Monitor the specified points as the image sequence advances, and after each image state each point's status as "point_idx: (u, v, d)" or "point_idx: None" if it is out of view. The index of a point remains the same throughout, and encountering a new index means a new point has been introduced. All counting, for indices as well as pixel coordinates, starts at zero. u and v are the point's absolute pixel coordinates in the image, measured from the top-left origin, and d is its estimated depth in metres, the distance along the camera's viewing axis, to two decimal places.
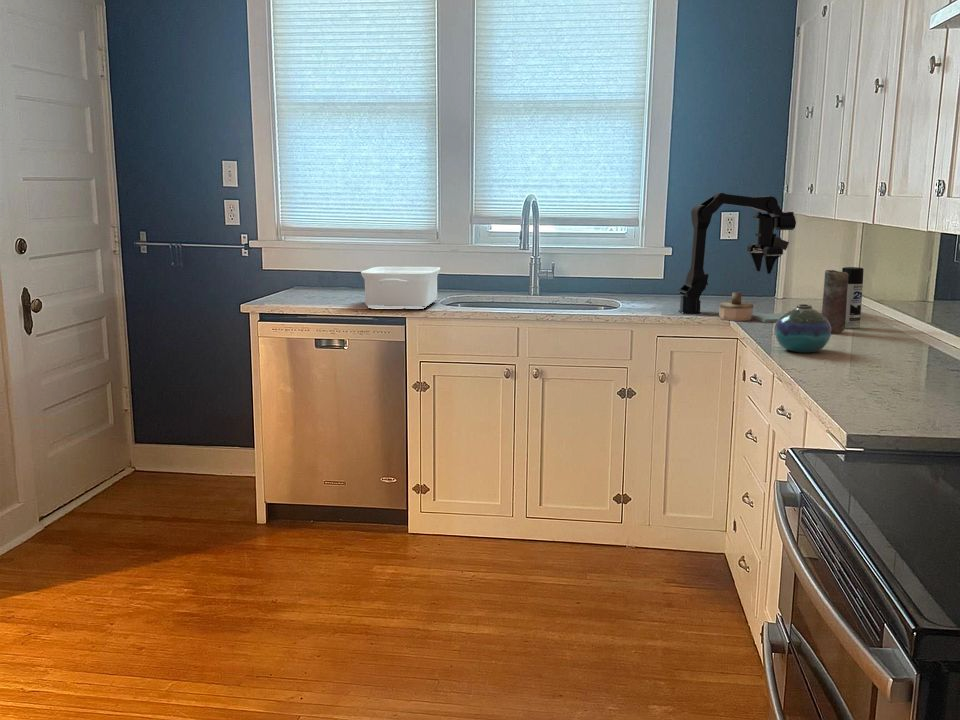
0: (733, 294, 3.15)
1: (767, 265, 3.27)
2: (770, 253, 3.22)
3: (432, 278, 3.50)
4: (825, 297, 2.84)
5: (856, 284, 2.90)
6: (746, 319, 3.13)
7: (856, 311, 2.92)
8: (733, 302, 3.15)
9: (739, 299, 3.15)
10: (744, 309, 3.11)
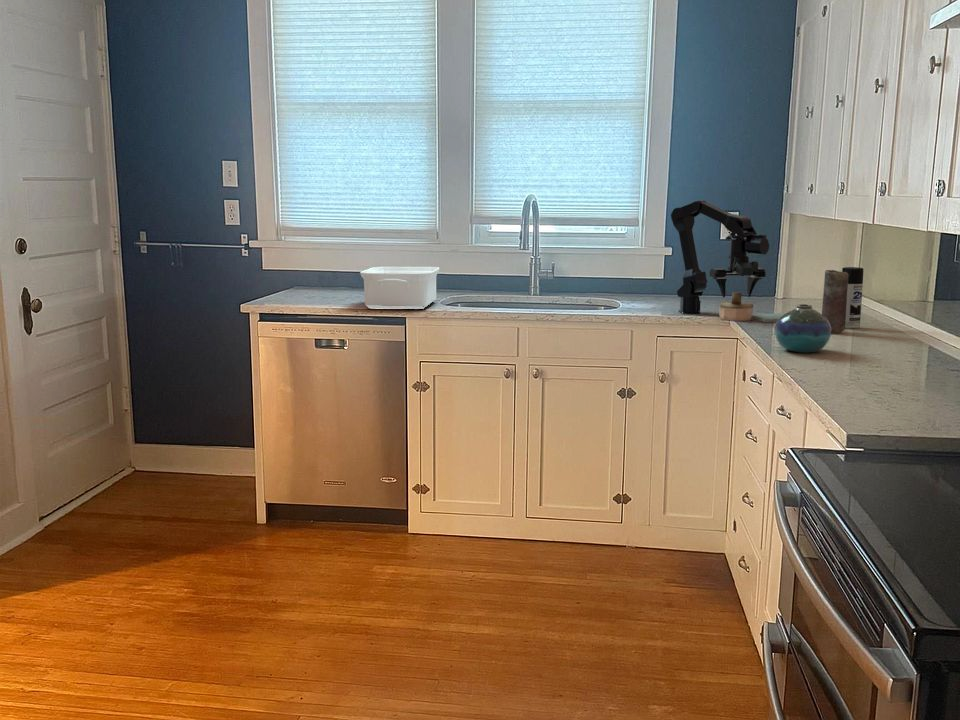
0: (733, 294, 3.15)
1: (720, 288, 3.16)
2: (710, 274, 3.15)
3: (431, 278, 3.50)
4: (825, 297, 2.84)
5: (856, 284, 2.90)
6: (746, 319, 3.13)
7: (856, 311, 2.92)
8: (733, 302, 3.15)
9: (739, 299, 3.15)
10: (744, 309, 3.11)
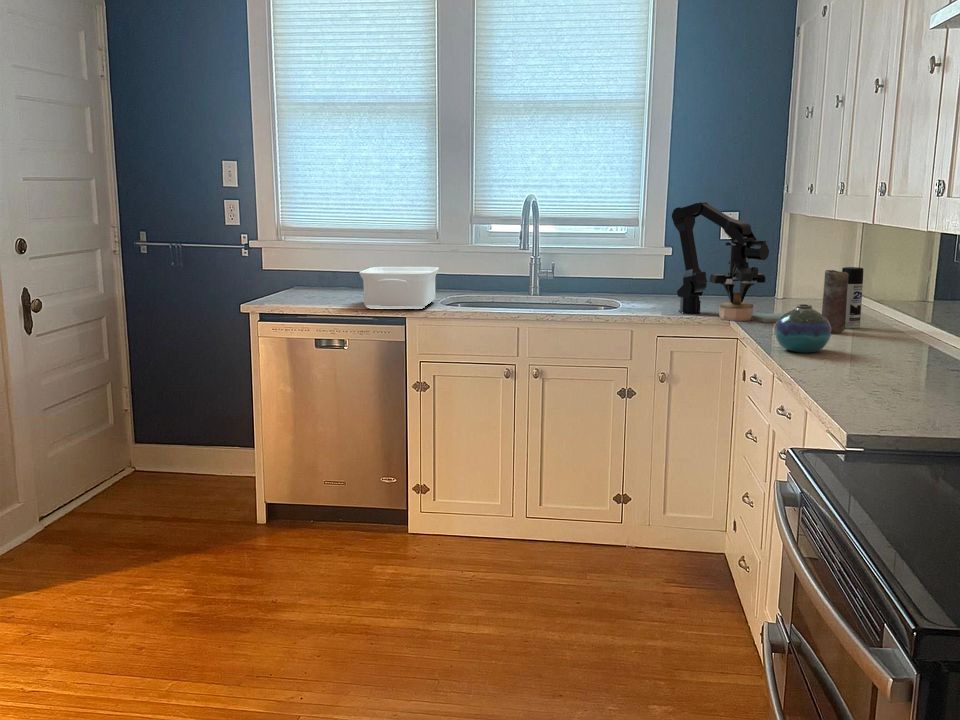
0: (733, 294, 3.15)
1: (727, 293, 3.16)
2: (710, 280, 3.16)
3: (431, 278, 3.50)
4: (825, 297, 2.84)
5: (856, 284, 2.90)
6: (746, 319, 3.13)
7: (856, 311, 2.92)
8: (733, 302, 3.15)
9: (739, 299, 3.15)
10: (744, 309, 3.11)
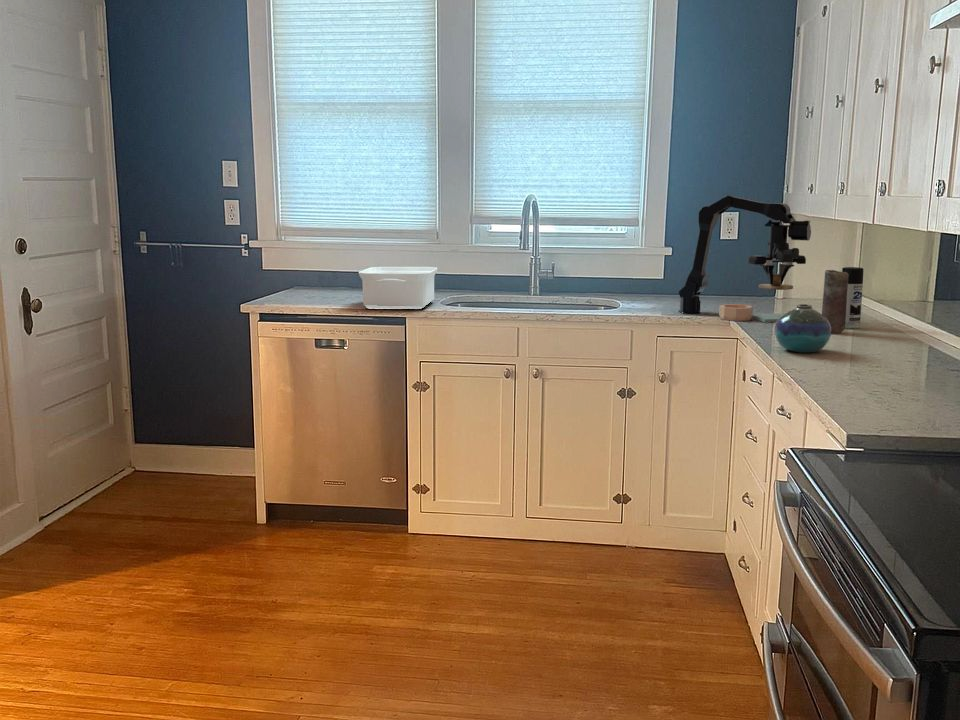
0: (773, 275, 3.12)
1: (767, 275, 3.14)
2: (749, 261, 3.13)
3: (430, 278, 3.50)
4: (825, 297, 2.84)
5: (856, 284, 2.90)
6: (746, 319, 3.13)
7: (856, 311, 2.92)
8: (773, 283, 3.13)
9: (779, 280, 3.12)
10: (744, 309, 3.11)
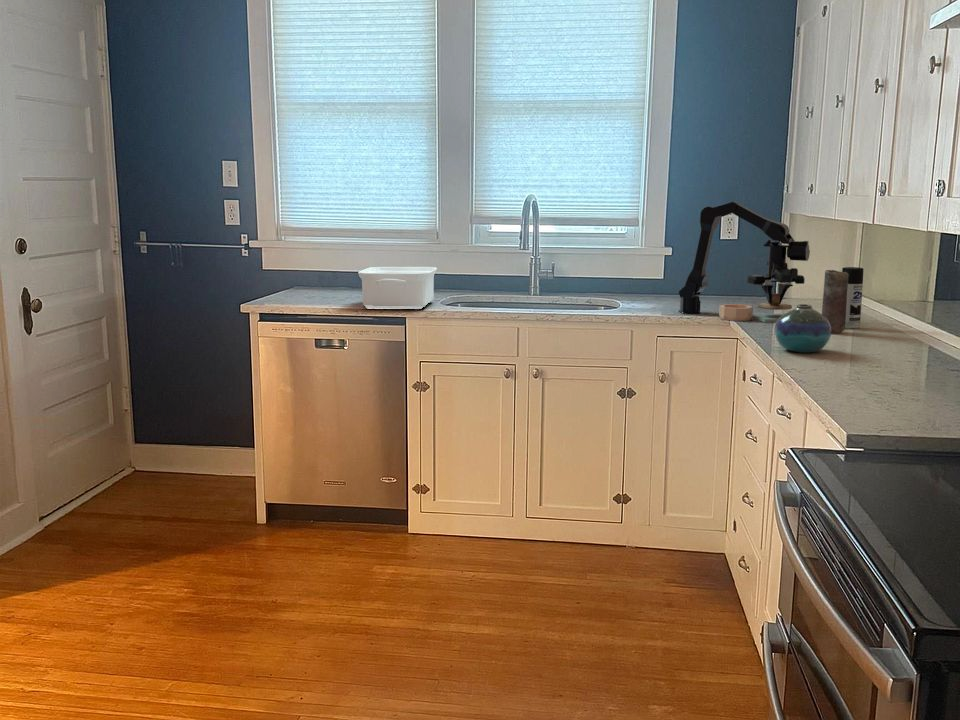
0: None
1: (765, 294, 3.15)
2: (748, 281, 3.14)
3: (429, 278, 3.51)
4: (825, 297, 2.84)
5: (856, 284, 2.90)
6: (746, 319, 3.13)
7: (856, 311, 2.92)
8: (771, 303, 3.14)
9: (778, 300, 3.13)
10: (744, 309, 3.11)
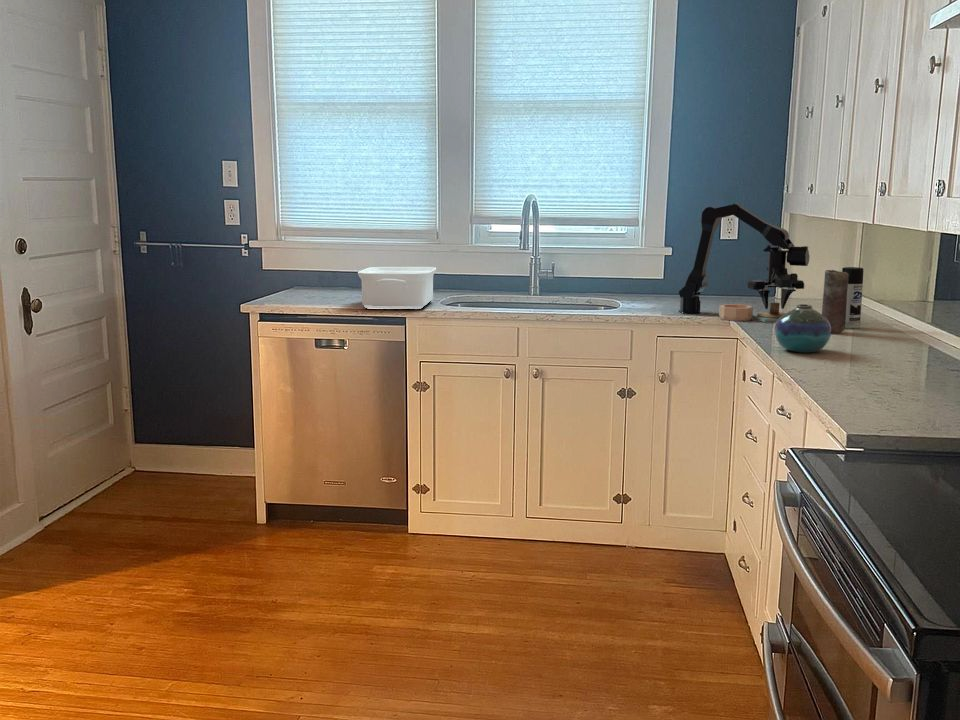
0: (771, 304, 3.14)
1: (762, 299, 3.15)
2: (748, 286, 3.15)
3: (429, 278, 3.51)
4: (825, 297, 2.84)
5: (856, 284, 2.90)
6: (746, 319, 3.13)
7: (856, 311, 2.92)
8: (771, 312, 3.15)
9: (777, 309, 3.14)
10: (744, 309, 3.11)
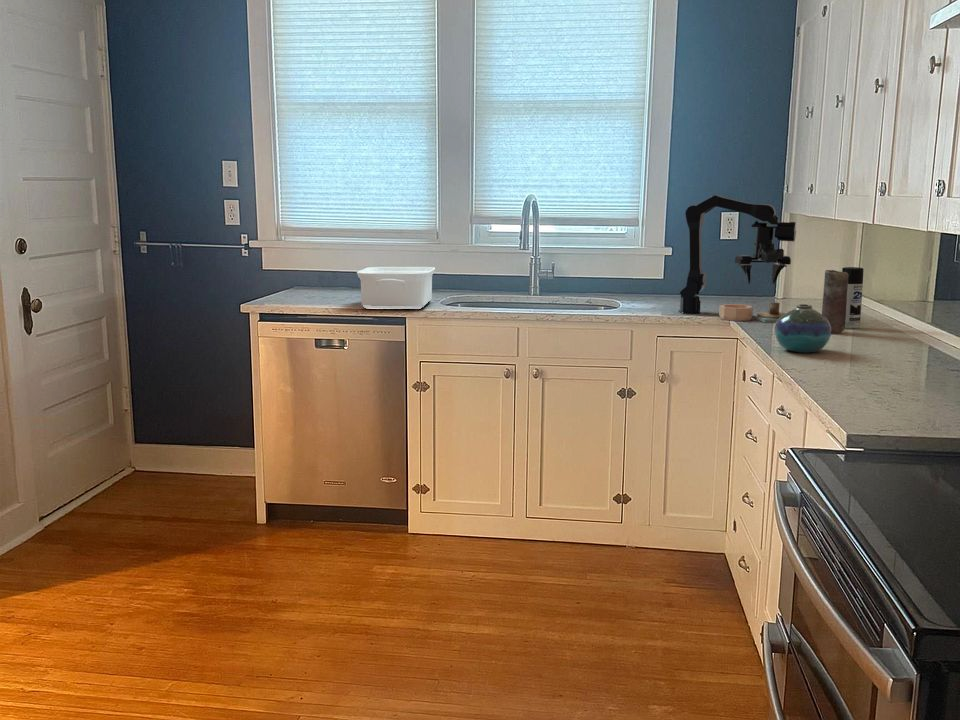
0: (771, 304, 3.14)
1: (745, 274, 3.20)
2: (735, 261, 3.19)
3: (428, 278, 3.51)
4: (825, 297, 2.84)
5: (856, 284, 2.90)
6: (746, 319, 3.13)
7: (856, 311, 2.92)
8: (771, 312, 3.15)
9: (777, 309, 3.14)
10: (744, 309, 3.11)
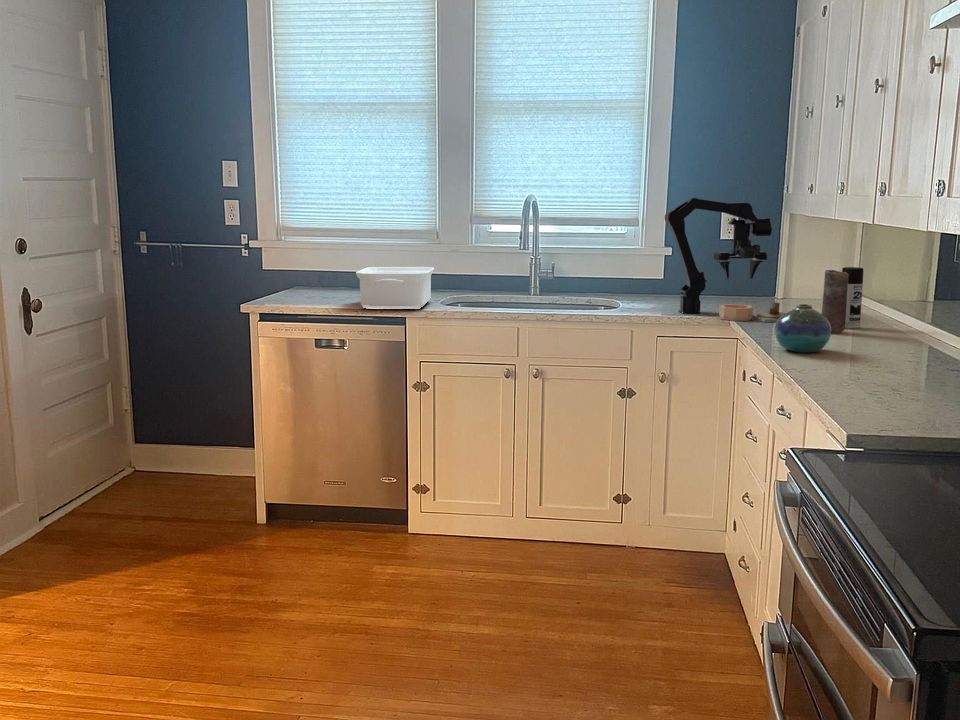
0: (771, 304, 3.14)
1: (723, 270, 3.30)
2: (714, 258, 3.30)
3: (427, 278, 3.51)
4: (825, 297, 2.84)
5: (856, 284, 2.90)
6: (746, 319, 3.13)
7: (856, 311, 2.92)
8: (771, 312, 3.15)
9: (777, 309, 3.14)
10: (744, 309, 3.11)
